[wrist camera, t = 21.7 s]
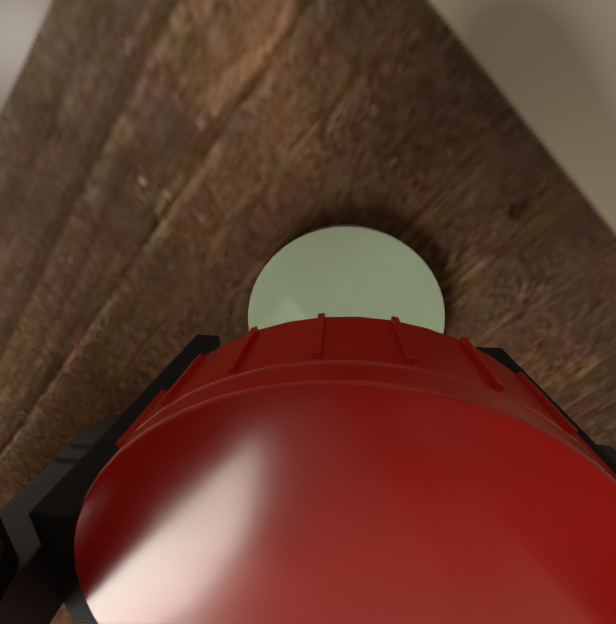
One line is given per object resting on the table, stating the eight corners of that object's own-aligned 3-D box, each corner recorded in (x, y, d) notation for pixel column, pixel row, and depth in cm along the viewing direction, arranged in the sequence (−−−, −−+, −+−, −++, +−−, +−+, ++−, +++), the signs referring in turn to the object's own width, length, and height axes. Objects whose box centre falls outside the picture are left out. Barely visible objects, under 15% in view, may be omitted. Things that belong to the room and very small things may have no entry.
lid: (366, 192, 5) (381, 198, 3) (665, 537, 6) (794, 678, 4) (65, 482, 7) (-25, 579, 5) (332, 670, 9) (330, 792, 7)
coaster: (454, 225, 14) (461, 227, 13) (427, 404, 17) (430, 413, 17) (246, 222, 15) (241, 224, 14) (256, 393, 18) (252, 402, 17)
